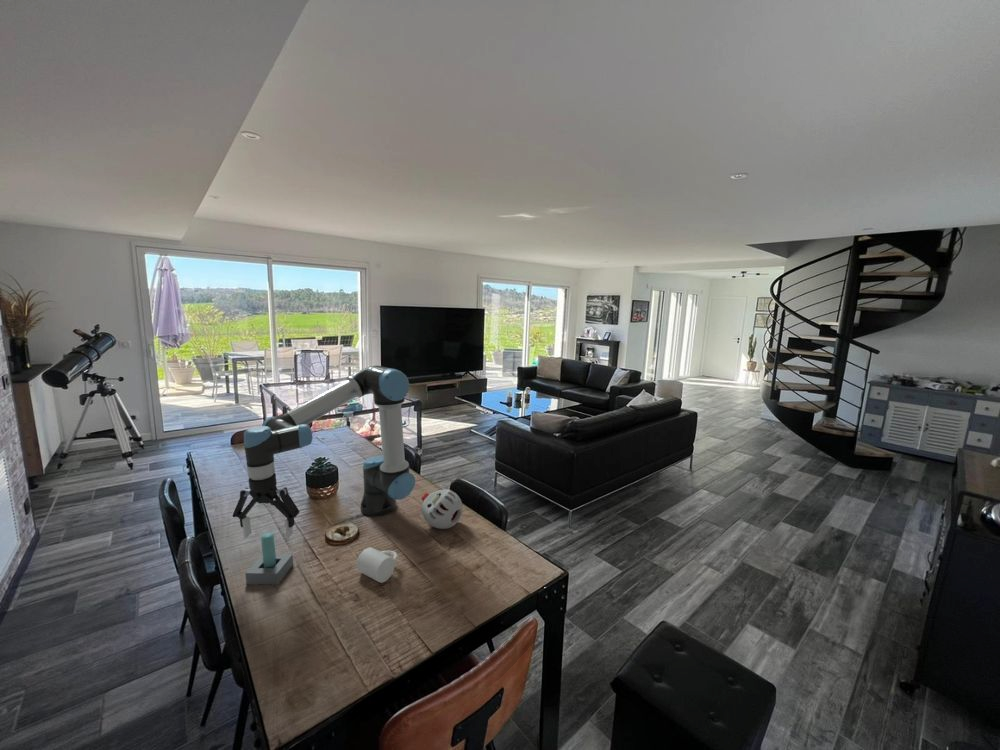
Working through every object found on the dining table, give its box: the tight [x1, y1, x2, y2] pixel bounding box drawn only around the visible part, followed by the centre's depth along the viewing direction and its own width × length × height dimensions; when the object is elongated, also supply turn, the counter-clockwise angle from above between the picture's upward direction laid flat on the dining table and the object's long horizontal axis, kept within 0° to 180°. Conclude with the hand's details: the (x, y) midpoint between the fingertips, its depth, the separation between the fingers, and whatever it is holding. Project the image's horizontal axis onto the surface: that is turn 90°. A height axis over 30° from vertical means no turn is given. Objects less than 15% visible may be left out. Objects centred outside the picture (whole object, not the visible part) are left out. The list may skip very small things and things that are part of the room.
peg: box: [260, 532, 276, 568], centre depth 132 cm, size 4×4×14 cm
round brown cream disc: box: [324, 522, 360, 546], centre depth 156 cm, size 15×15×4 cm
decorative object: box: [421, 489, 464, 530], centre depth 165 cm, size 15×19×15 cm
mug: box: [356, 547, 399, 584], centre depth 136 cm, size 12×10×8 cm
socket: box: [245, 553, 294, 586], centre depth 133 cm, size 10×10×4 cm
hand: (268, 535), depth 132 cm, fingers open, 13 cm apart
